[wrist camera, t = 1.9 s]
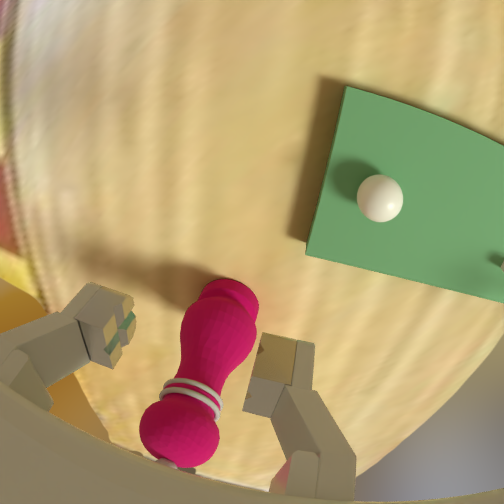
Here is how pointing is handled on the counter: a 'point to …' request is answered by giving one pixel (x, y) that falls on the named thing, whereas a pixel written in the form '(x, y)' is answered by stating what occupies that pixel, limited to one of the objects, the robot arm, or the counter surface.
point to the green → (414, 198)
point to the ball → (379, 198)
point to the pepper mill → (201, 375)
